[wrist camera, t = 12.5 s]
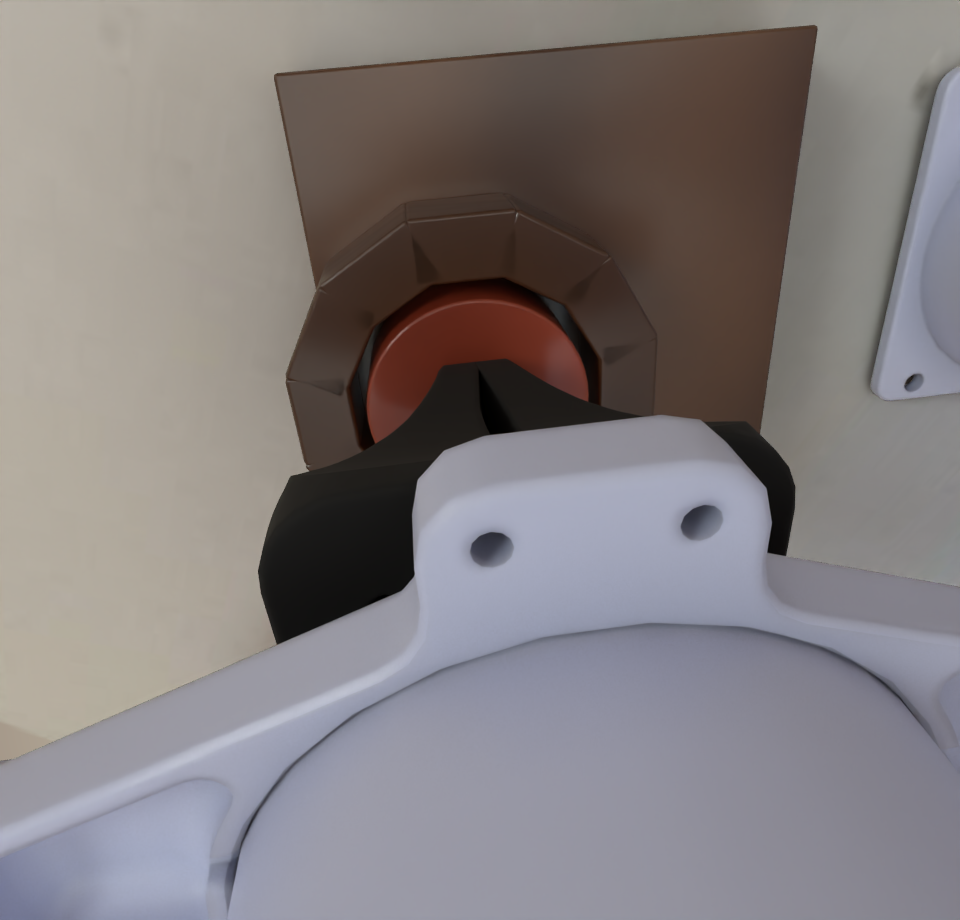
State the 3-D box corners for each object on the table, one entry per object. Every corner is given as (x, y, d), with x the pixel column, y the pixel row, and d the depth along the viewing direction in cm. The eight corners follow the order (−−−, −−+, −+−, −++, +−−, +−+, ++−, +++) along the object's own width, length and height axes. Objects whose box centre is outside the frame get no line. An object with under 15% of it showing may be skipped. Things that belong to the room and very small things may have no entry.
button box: (764, 29, 15) (878, 18, 11) (712, 501, 21) (776, 589, 17) (256, 75, 14) (212, 79, 11) (355, 546, 20) (347, 646, 17)
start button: (569, 263, 14) (589, 286, 13) (571, 450, 16) (589, 489, 15) (353, 285, 14) (348, 313, 12) (385, 472, 16) (384, 514, 15)
